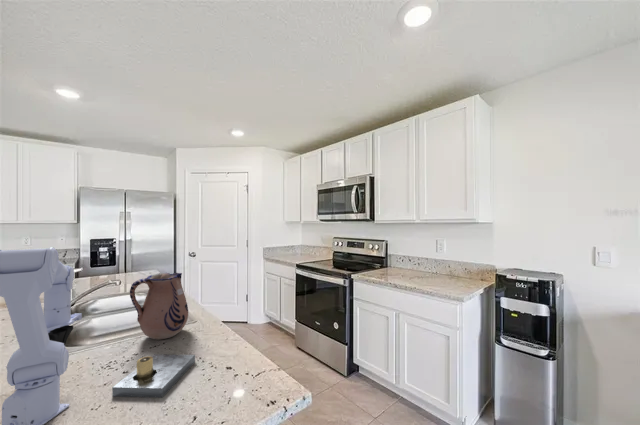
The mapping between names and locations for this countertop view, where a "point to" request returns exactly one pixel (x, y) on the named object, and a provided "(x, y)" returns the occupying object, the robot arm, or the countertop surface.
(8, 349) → the countertop surface
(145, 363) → the slip bushing
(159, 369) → the plate
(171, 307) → the ceramic pitcher
